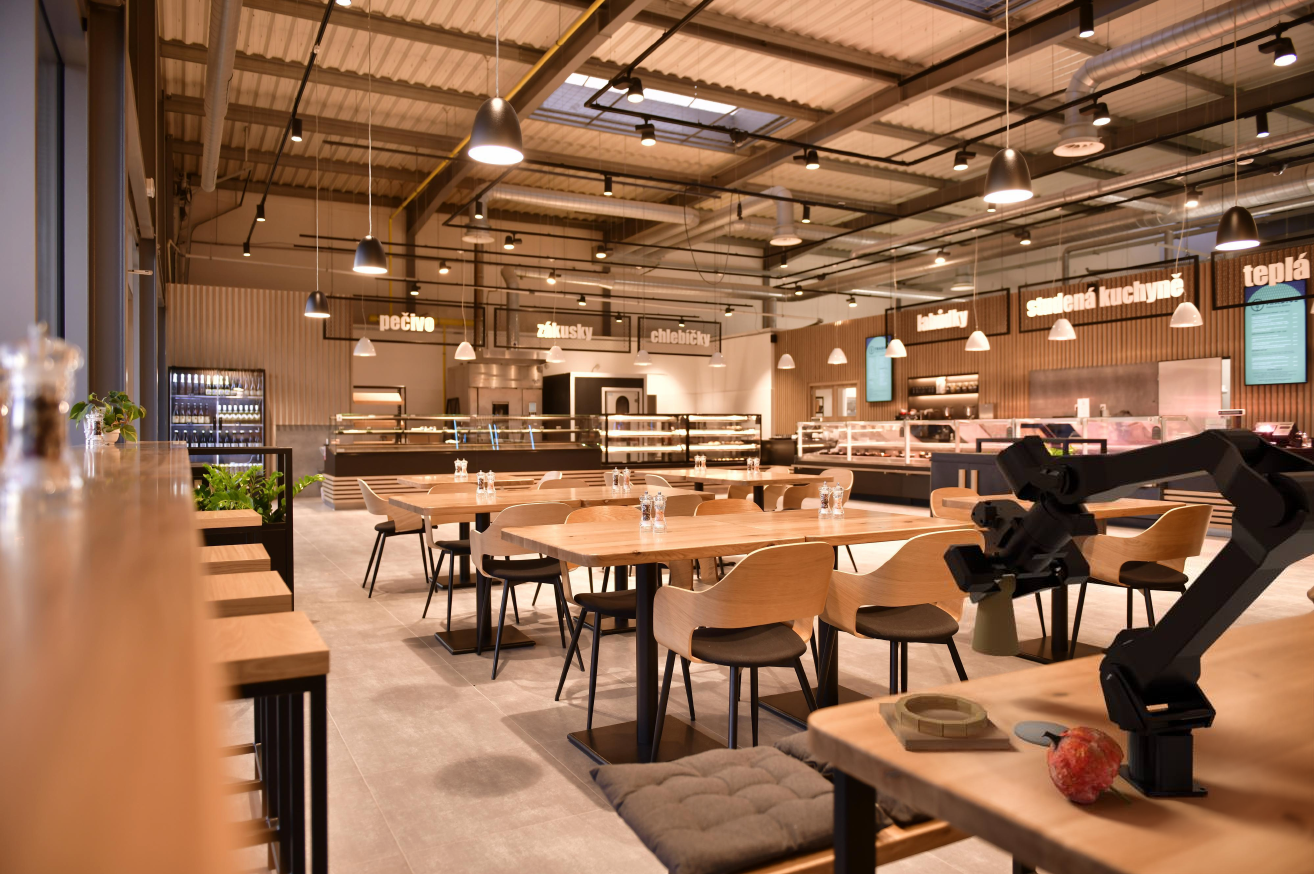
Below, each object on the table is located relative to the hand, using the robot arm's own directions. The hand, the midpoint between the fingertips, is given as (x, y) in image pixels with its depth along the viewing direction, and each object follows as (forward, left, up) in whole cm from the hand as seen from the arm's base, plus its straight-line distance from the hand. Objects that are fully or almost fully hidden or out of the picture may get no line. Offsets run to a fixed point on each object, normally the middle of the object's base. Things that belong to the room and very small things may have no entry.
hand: (988, 599), depth 115 cm
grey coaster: (-14, -1, -13) cm, 19 cm away
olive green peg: (-1, 0, -7) cm, 7 cm away
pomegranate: (-30, +2, -13) cm, 33 cm away
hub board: (-12, +11, -13) cm, 21 cm away
